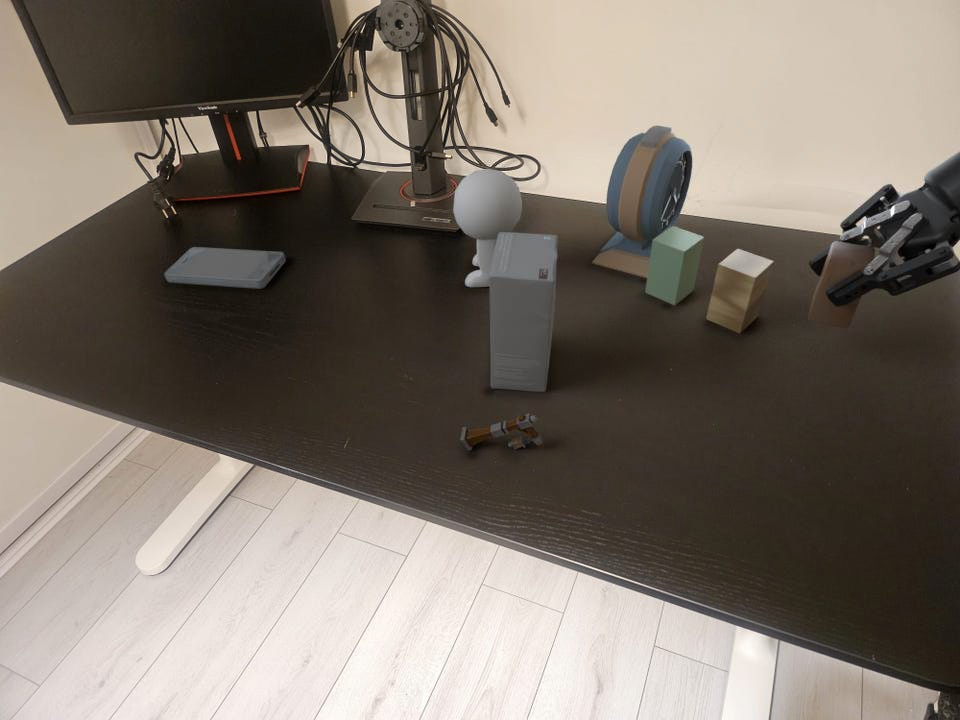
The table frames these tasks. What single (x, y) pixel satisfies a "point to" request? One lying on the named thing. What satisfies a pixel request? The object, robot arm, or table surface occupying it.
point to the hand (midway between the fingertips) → (822, 284)
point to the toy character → (486, 215)
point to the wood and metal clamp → (501, 428)
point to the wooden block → (837, 268)
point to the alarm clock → (644, 197)
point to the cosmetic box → (522, 310)
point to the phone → (226, 267)
